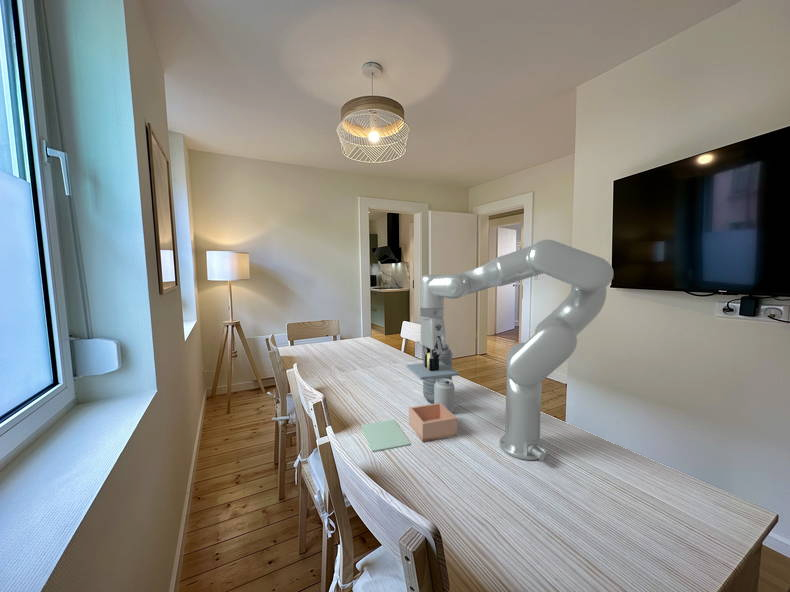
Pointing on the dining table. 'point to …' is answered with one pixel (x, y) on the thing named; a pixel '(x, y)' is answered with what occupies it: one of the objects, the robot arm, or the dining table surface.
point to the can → (444, 393)
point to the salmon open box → (432, 422)
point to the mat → (384, 435)
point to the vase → (429, 383)
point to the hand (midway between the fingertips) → (431, 368)
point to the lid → (425, 373)
